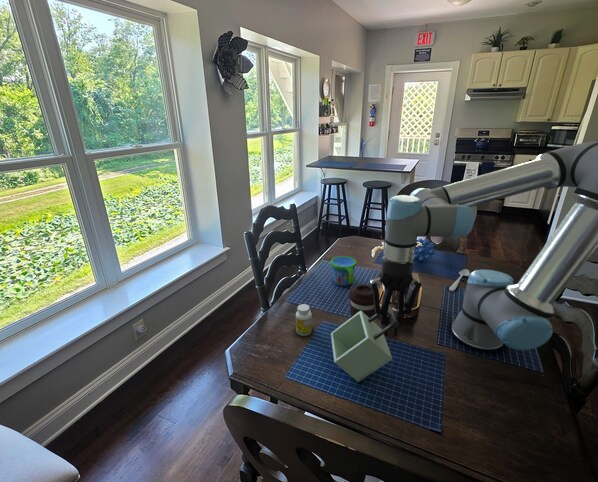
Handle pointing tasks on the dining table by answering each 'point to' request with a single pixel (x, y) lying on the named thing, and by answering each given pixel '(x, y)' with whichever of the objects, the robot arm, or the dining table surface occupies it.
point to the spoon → (463, 273)
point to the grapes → (424, 250)
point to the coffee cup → (362, 300)
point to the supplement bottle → (303, 320)
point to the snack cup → (343, 270)
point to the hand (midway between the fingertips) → (389, 333)
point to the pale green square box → (362, 345)
